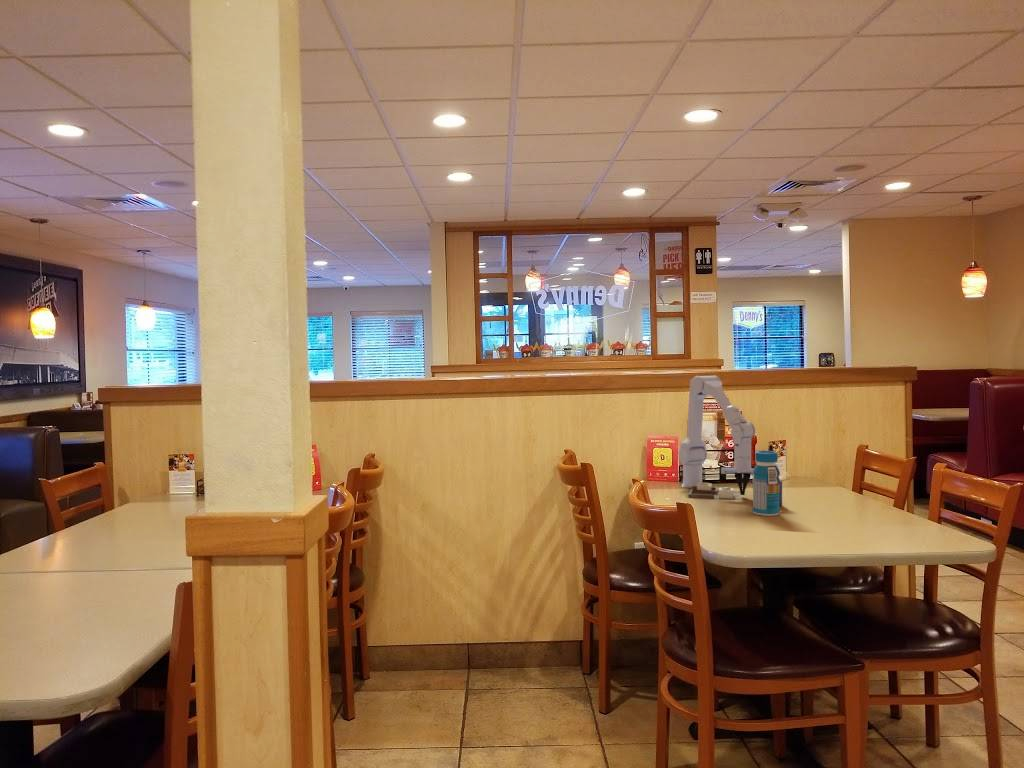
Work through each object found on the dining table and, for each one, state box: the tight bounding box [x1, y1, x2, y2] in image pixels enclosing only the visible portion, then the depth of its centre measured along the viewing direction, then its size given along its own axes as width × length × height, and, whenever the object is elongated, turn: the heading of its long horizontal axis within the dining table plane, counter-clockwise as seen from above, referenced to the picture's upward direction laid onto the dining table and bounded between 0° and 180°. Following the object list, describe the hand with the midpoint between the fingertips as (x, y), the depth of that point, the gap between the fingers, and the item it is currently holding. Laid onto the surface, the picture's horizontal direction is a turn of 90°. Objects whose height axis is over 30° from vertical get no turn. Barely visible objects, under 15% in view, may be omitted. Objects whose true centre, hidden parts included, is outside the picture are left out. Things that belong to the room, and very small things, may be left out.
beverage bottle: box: [751, 450, 781, 517], centre depth 244 cm, size 8×8×20 cm
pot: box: [718, 486, 734, 498], centre depth 271 cm, size 5×5×3 cm
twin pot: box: [697, 481, 713, 490], centre depth 281 cm, size 5×5×3 cm
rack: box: [686, 486, 740, 501], centre depth 276 cm, size 17×18×2 cm
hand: (742, 494), depth 270 cm, fingers closed
